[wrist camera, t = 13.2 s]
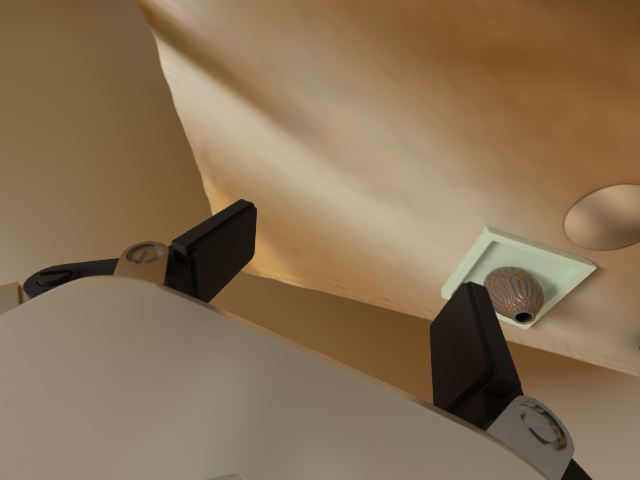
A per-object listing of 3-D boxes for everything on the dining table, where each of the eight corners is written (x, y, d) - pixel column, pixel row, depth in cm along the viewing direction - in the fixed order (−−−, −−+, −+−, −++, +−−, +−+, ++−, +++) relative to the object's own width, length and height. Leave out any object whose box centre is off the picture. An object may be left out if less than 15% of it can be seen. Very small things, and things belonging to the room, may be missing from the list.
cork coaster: (600, 174, 30) (603, 175, 29) (686, 197, 28) (690, 199, 28) (546, 234, 35) (548, 236, 34) (617, 257, 33) (620, 259, 33)
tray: (485, 225, 37) (489, 232, 35) (588, 259, 34) (597, 267, 33) (440, 289, 44) (441, 297, 43) (521, 320, 42) (526, 329, 41)
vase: (543, 276, 37) (574, 320, 30) (503, 300, 41) (521, 344, 34) (505, 251, 37) (527, 288, 30) (469, 278, 41) (480, 316, 34)
